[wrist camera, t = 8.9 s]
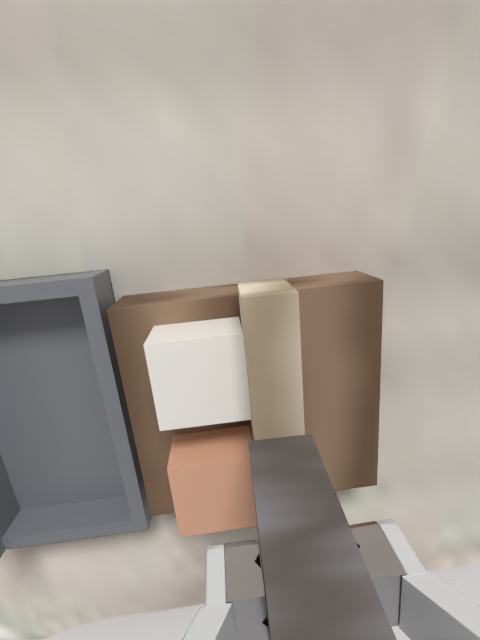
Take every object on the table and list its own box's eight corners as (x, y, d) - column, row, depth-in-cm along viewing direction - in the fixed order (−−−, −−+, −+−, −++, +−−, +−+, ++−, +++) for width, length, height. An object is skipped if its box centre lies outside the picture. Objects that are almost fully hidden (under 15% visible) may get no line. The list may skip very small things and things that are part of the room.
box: (108, 269, 18) (69, 287, 13) (155, 496, 22) (139, 572, 17) (-68, 287, 17) (-175, 313, 13) (15, 514, 22) (-41, 598, 17)
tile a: (238, 316, 16) (243, 333, 14) (246, 391, 17) (251, 419, 15) (154, 326, 16) (143, 344, 13) (167, 401, 17) (159, 431, 14)
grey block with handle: (289, 277, 14) (466, 428, 4) (302, 529, 18) (407, 938, 8) (231, 283, 14) (254, 451, 4) (257, 534, 18) (302, 953, 8)
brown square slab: (357, 271, 19) (383, 280, 16) (355, 450, 22) (376, 484, 19) (123, 296, 18) (106, 309, 15) (159, 476, 22) (151, 515, 19)
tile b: (249, 425, 18) (255, 457, 15) (255, 487, 19) (261, 525, 16) (173, 435, 17) (166, 469, 15) (184, 496, 19) (179, 537, 16)
